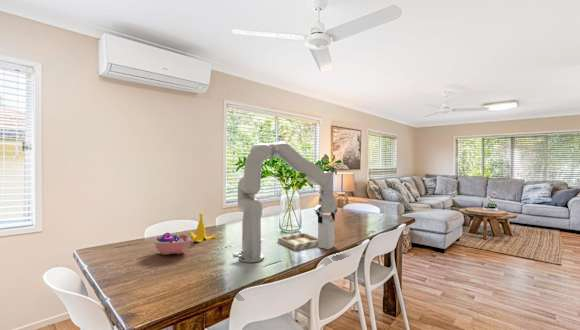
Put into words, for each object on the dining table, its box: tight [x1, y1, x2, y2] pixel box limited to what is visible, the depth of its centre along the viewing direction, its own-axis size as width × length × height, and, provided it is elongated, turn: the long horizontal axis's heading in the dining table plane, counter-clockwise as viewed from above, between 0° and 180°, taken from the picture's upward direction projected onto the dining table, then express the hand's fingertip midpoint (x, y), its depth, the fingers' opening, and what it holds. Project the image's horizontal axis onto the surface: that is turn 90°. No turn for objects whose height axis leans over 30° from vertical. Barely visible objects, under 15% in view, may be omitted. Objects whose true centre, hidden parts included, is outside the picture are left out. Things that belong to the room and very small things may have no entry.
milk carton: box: [317, 213, 336, 250], centre depth 164 cm, size 7×7×19 cm
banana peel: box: [189, 213, 219, 243], centre depth 179 cm, size 17×19×17 cm
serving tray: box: [277, 232, 318, 251], centre depth 171 cm, size 20×18×3 cm
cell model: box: [153, 232, 193, 256], centre depth 151 cm, size 17×20×11 cm
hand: (326, 221), depth 164 cm, fingers open, 9 cm apart
